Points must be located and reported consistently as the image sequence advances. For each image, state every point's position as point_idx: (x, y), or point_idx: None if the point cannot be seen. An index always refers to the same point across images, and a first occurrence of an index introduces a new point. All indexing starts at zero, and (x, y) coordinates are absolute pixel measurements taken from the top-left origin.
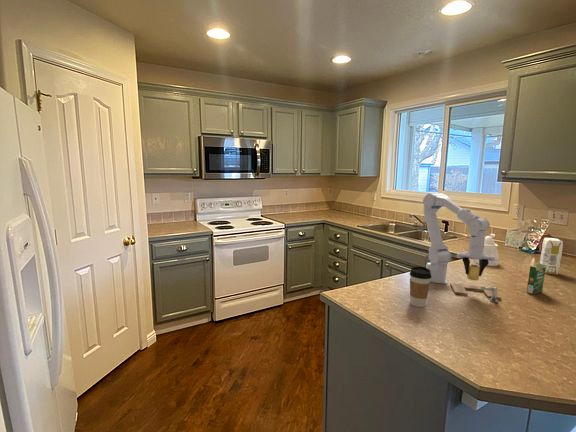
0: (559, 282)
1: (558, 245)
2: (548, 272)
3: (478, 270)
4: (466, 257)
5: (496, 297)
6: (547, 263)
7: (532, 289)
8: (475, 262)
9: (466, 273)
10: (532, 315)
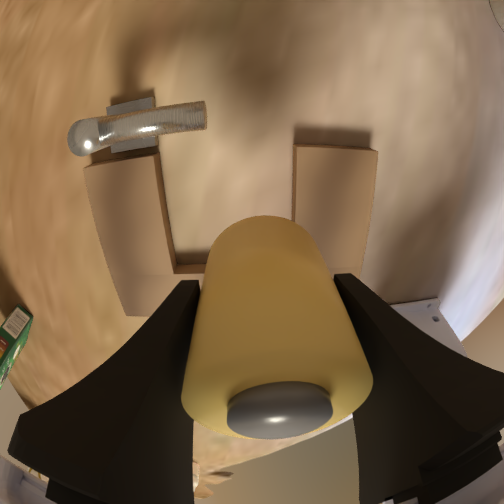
0: (24, 389)
1: (31, 470)
2: None
3: (213, 316)
4: (450, 494)
5: (107, 163)
6: None
7: (10, 318)
8: (194, 462)
9: (358, 281)
10: (18, 40)
